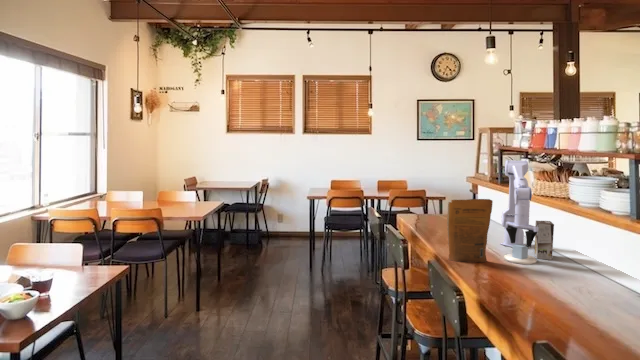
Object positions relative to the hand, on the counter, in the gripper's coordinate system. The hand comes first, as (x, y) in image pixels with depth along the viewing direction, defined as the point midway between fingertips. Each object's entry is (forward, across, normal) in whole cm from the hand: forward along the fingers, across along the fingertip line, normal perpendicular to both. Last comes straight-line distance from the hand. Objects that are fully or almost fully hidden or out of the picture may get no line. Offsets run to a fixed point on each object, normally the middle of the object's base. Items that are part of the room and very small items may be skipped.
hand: (520, 244), depth 187 cm
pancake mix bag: (+7, -11, -21) cm, 25 cm away
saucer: (+7, 0, 0) cm, 7 cm away
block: (+6, 0, 0) cm, 6 cm away
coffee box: (+7, +2, +14) cm, 16 cm away
